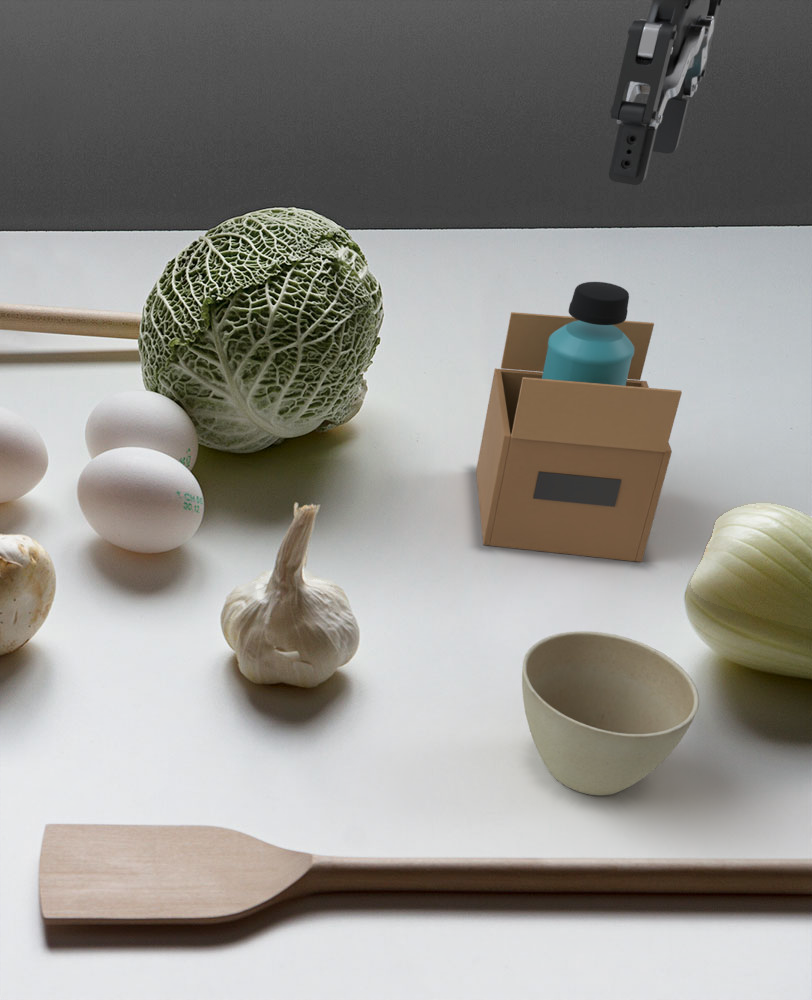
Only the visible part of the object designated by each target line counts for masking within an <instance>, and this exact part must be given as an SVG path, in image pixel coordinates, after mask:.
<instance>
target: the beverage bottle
mask: <svg viewBox="0 0 812 1000" xmlns="http://www.w3.org/2000/svg"><path fill="white" fill-rule="evenodd" d="M629 300H630V294H629V292H628V290H626V289H625V288H624V287H622V286H620V285H617V284H613V283H610V282H606V281H605V282H604V281H603V282H602V281H585V282H582V283H579V284H578V285H577V286H576V287H575V289H574V291H573V295H572V298H571V301H570V302H569V306H568V314H569V315H570V317H574V318H575V319H577V320H579V321H574V322H571V323H569V324H566V325H565V326H563V327H561V328H559V329H558V330H556V331H555V332H553V333H552V334H551V336H550V337H549V340H548V350H547V355H546V360H545V365H544V370H543V375H542V379H550V380H562V381H574V382H586V383H597V384H609V385H621V386H626V381H627V380H628V379H627V377H628V373H629V368H630V364H631V359H632V357H633V355H634V346H633V344H632V342H631V341H630V340H629V338H628V337H627V336H626V335H625V334H624V333H623V332H622V331H621V330H620V329H619V328H617V327H615V326H613V325H615V324H620V323H622V322H624V321H627V317H628V309H629V308H628V307H629V302H630V301H629Z"/></svg>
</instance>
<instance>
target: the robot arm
mask: <svg viewBox="0 0 812 1000" xmlns="http://www.w3.org/2000/svg"><path fill="white" fill-rule="evenodd" d="M723 1H724V0H652V1H651V4H650V5H649V9H648V12H647V16H646V19H638V20H636V19H634V20H633V21H632V23H631V25H630V26H629V28H628V33H627V35H628V36H627V41H626V45H625V49H624V54H623V58H622V64H621V68H620V73H619V77H618V81H617V85H616V90H615V94H614V99H613V103H612V105H611V108H610V112H609V113H610V119H611V120H613V121H616V124H619V125H618V129H617V134H616V138H615V143H614V148H613V151H612V152H613V153H612V157H611V162H610V167H609V170H608V177H609V179H610V180H611V181H612V182H614V183H621V184H626V185H627V184H628V185H631V186H632V185H633V186H637V185H640V184H641V183H643V181H645V180H646V178H647V175H648V171H649V166H650V162H651V158H652V153H653V152H655V153H661V154H662V153H663V154H672V153H674V152H675V151H676V150H677V149H678V147H679V143H680V140H681V136H682V132H683V127H684V123H685V119H686V115H687V111H688V107H689V103H690V98H693V96H694V94H695V93H696V92H697V90H698V83H701V82H702V80H703V78H705V76H706V73H707V69H706V67H707V63H708V60H709V59H708V58H709V54H710V50H711V45H712V41H713V37H714V34H715V28H716V24H717V20H718V17H719V16H718V15H719V11H720V7H721V6H722V4H723ZM639 94H646V95H648V96H647V101H646V103H644V102H635V100H636V98H637V96H639ZM687 97H688V98H687ZM689 97H690V98H689Z"/></svg>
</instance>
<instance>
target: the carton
mask: <svg viewBox="0 0 812 1000" xmlns="http://www.w3.org/2000/svg"><path fill="white" fill-rule="evenodd" d="M574 321H579V320H577V319H575V318H574V317H572V316H571V315H570V316H569V315H568V316H567V315H557V314H556V315H555V314H542V313H528V312H516V311H511V312H510V316H509V321H508V322H509V323H508V326H507V331H506V336H505V337H506V338H505V342H504V346H503V347H504V349H503V353H502V360H501V364H500V368H494V371H493V377H492V382H491V387H490V393H489V398H488V403H487V410H486V414H485V420H484V425H483V431H482V436H481V441H480V442H481V443H480V448H479V453H478V457H477V458H478V459H477V463H476V469H475V470H476V471H475V474H476V484H477V495H478V504H479V514H480V515H479V516H480V524H481V537H482V545H484V546H491V547H498V548H509V549H516V550H517V549H518V550H526V551H527V550H528V551H536V552H545V553H546V552H547V553H555V554H564V555H565V554H566V555H574V556H581V557H582V556H583V557H590V558H599V559H601V558H602V559H609V560H619V561H628V562H638V563H642V562H643V559H644V555H645V552H646V548H647V544H648V541H649V538H650V534H651V529H652V526H653V523H654V519H655V515H656V511H657V508H658V504H659V500H660V496H661V494H662V489H663V486H664V483H665V478H666V475H667V471H668V468H669V464H670V460H671V456H672V453H673V450H672V448H671V445H670V443H669V442H670V437H671V433H672V430H673V427H674V422H675V419H676V415H677V412H678V408H679V404H680V401H681V396H682V390H678V389H668V388H667V389H666V388H656V387H655V388H654V387H650V386H649V384H648V381H647V380H642V375H643V371H644V367H645V363H646V358H647V355H648V351H649V347H650V343H651V339H652V336H653V332H654V327H655V323H654V322H649V321H636V320H625V321H624V322H622V323H620V324H615V325H613V326H615V327H617V328H619V329H620V330H621V331H622V332H623V333H624V334H625V335H626V336H627V337H628V338H629V340H630V341H631V342H632V344H633V346H634V355H633V357H632V359H631V364H630V368H629V373H628V377H627V381H626V386H621V385H609V384H597V383H586V382H574V381H562V380H550V379H542V375H543V370H544V365H545V360H546V355H547V350H548V340H549V337H550V336H551V334H552V333H553V332H555V331H556V330H558V329H559V328H561V327H563V326H565V325H566V324H569V323H571V322H574Z"/></svg>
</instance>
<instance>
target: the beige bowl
mask: <svg viewBox="0 0 812 1000" xmlns="http://www.w3.org/2000/svg"><path fill="white" fill-rule="evenodd" d="M521 671H522V673H521V687H522V688H521V689H522V700H523V701H522V702H523V707H524V713H525V718H526V722H527V725H528V729H529V732H530V734H531V735H530V736H531V737H532V740H533V743H534V746H535V748H536V750H537V752H538V754H539V756H540V758H541V760H542V762H543V764H544V765H545V767H546V769H547V770H548V772H549V773H550V774H551V775H552V777H553V778H554V779H555V780H557V781H558V782H559V783H561V784H562V785H563V786H565V787H566V788H569V789H570V790H573V791H576V792H578V793H581V794H586V795H591V796H611V795H614V794H617V793H619V792H622V791H623V790H626V789H627V788H629V787H632V786H633V785H635V784H636V783H638V782H640V781H641V780H642V779H644V778H645V777H647V776H648V775H649V774H650V773H652V772H653V771H654V770H655V769H657V767H659V766H660V765H661V764H662V763H663V762H664V761H665V760H666V759H667V758H668V757H669V756H670V755H671V753H672V752H673V751H674V750H675V748H676V747H678V745H679V743H680V742H681V741H682V740H683V738H684V736H685V735H686V733H687V732H688V730H689V728H690V726H691V725H692V723H693V721H694V719H695V717H696V715H697V712H698V710H699V706H700V696H699V692H698V689H697V687H696V684H695V682H694V680H693V679H692V678H691V676H690V675H689V674H688V673H687V671H686V670H685V669H684V668H683V667H681V665H680V664H678V663H677V662H676V661H675V660H673V659H672V658H671V657H669V656H667V655H666V654H665V653H663V652H661V651H659V650H657V648H654V647H651V646H650V645H648V644H646V643H643V642H641V641H638V640H636V639H632V638H629V637H626V636H621V635H617V634H613V633H608V632H599V631H585V630H584V631H582V630H579V631H567V632H560V633H555V634H552V635H549V636H547V637H544V638H542V639H540V640H539V641H537V642H536V643H534V644H533V645H532V646H531V647H530V648H529V649H528V651H527V652H526V653H525V655H524V657H523V662H522V670H521Z"/></svg>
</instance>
